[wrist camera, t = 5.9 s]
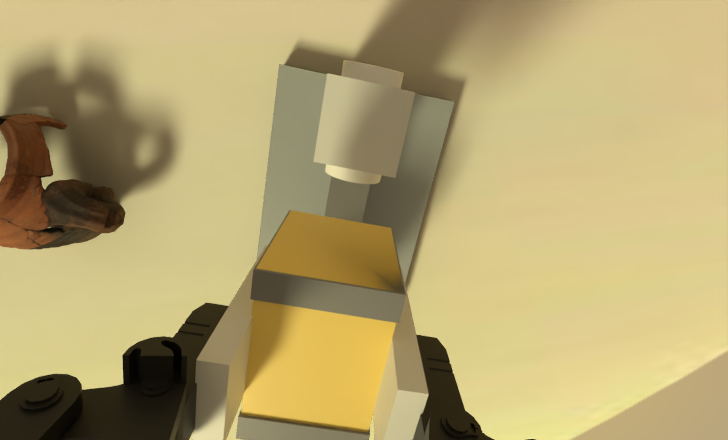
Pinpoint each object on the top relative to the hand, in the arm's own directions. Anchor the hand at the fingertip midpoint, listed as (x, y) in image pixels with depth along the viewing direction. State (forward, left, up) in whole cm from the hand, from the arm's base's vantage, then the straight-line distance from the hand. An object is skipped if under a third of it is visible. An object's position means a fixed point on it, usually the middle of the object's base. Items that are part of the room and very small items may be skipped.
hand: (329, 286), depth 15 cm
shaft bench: (0, 0, -15) cm, 15 cm away
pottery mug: (-21, -4, -15) cm, 26 cm away
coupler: (0, 0, 0) cm, 0 cm away
